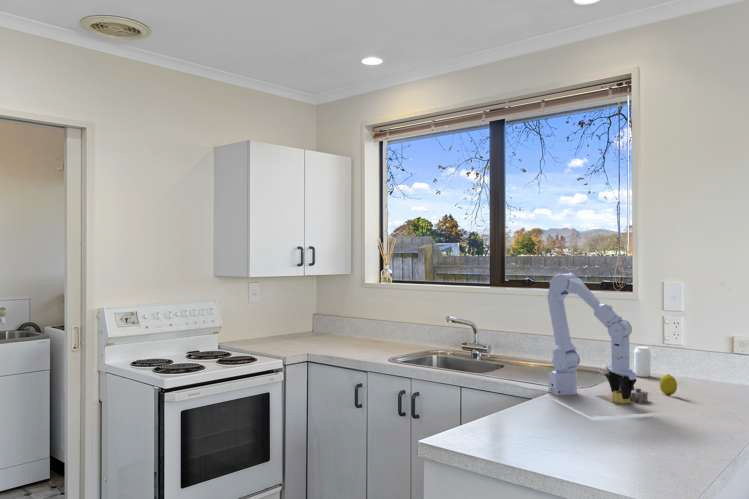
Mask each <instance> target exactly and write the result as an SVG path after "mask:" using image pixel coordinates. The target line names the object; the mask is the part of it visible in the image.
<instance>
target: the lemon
mask: <svg viewBox="0 0 749 499" xmlns="http://www.w3.org/2000/svg"><path fill="white" fill-rule="evenodd" d="M659 388H660V391H661V392H662V393H663V394H665V395H666V396H668V397H671V395H674V394H675V393H676V392H677V389H678V384H677V380H676V378H675V377H674V376H673V375H671V374H669V373H666V374H665V375H663V376H662V377H661V378H660V381H659Z"/></svg>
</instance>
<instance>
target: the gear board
mask: <svg viewBox="0 0 749 499" xmlns="http://www.w3.org/2000/svg"><path fill="white" fill-rule="evenodd" d="M618 393H622V390H621V389H620V390H618ZM596 397H597V398H599V399H602V400H603V401H606V402H609V403H610V404H613V405H616V406H627V405H642V404H653V402H652V401H650V400H648V392H647V391H644V390H642V389H641V388H635V385H634V386H633V388H632V391H631V394H630V402H629V403H616V402H615V401H612V394H604V395H596Z"/></svg>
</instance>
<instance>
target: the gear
mask: <svg viewBox="0 0 749 499" xmlns="http://www.w3.org/2000/svg"><path fill="white" fill-rule="evenodd" d="M611 395H612V401H615V402H616V403H629V402H630V398H629V399H623V398H622V393H618V391H613V392H612V391H611Z"/></svg>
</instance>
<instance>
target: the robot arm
mask: <svg viewBox="0 0 749 499" xmlns="http://www.w3.org/2000/svg"><path fill="white" fill-rule="evenodd" d="M548 283H549V288H548V291H547V292H548V293H547V296H546V298H547V299H546V300H547V303H548V310H549V314H550V315H549V316H550V318H551V325H552V331H553V336H554V341H555V345H554V348H553V350H552V353H553V356H552V360H551V363H552V365H553V367H554V369H555V370H552V371H550V372H549V373H548V392H549V393H551V394H553V395H555V396H563V395H564V396H571V395H574V396H575V395H576V394H578V377H577V372H578V369H577V368H578V366H579V365H580V362H581V358H580V354H578V352H577V350H576V349H577V348H576V346H575V345H574V344H573V343H572V340H571V334H570V330H569V329H570V328H569V324H568V320H567V319H568V318H567V314H566V313H567V312H566V307H565V302H564V301H565V298H566V297H567V296H568V295H569V294H574V295H577V296H578V297H579V298H580V299H581V300H582V301H584V302H585V304H587V305H588V306H589V307H590V308H592V310H593V315H594V316H595V318H597V320H598V321H599V322H600V323H602V325H603V326H604V327H605V328H606V329H607V333H608V335H609V336H610V339H611V340H610V345H611V346H610V348H611V349H610V350H611V354H610V355H611V356H610V357H611V358H610V361H611V365H608V364H607V365H605V372H606V373H605V377H606V379H607V382H608V383H609V387H610V390H611V393H612V392H613V391H618V390H622V398H623V399H629V398H630V394H631V391H632V388H633V386H634V387H635V384H636V383H637V376H636V373H634V371H633V368H630V365H631V363H630V335H631V334H632V331H633V328H632V325H631V323H630V322H629V321H628V320H627V319H623V317H622V316H619V314H617V313H616V311H614V310H613V309H614V308H613V306H611V304H607V303H602V302H600V300H599V299H598V298H597V297H596V295H594V293H593V292H592V291H591V290H590V289H589V288H588V287H587V285H586V284H585V283H584V282H583V279H581V278H579V276H578V275H577V274H576V273H573V272H569V273H555V275H554V276H553V277H552V278H551V279H550V280H549V281H548ZM622 376H624V378H622ZM620 385H621V389H620Z"/></svg>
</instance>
